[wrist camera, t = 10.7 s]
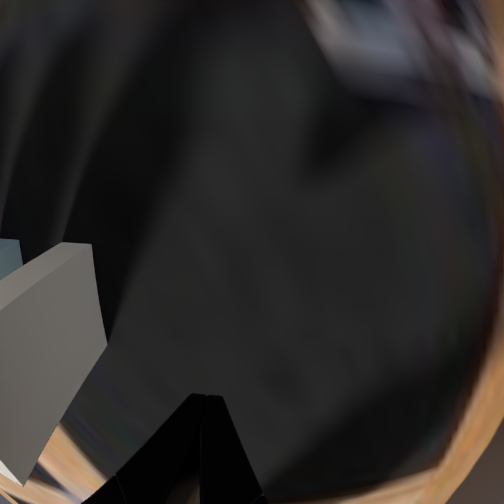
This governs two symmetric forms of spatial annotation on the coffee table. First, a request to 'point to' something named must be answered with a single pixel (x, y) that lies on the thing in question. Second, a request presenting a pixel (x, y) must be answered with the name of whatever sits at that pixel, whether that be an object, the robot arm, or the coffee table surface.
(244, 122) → the coffee table surface
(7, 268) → the domino
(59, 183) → the coffee table surface
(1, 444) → the domino
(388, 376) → the coffee table surface
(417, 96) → the coffee table surface
